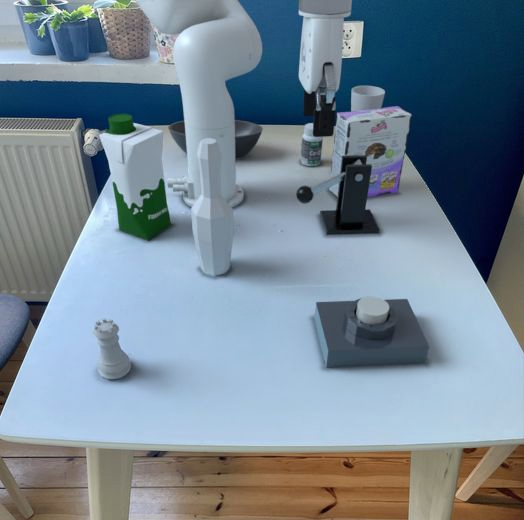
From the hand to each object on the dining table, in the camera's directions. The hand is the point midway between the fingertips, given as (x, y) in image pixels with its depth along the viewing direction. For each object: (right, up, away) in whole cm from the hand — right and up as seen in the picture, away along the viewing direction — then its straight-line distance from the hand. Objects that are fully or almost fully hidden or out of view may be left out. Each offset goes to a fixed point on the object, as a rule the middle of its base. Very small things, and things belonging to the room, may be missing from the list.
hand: (317, 125), depth 88 cm
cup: (+16, +16, +49) cm, 55 cm away
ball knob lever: (+4, -7, +11) cm, 14 cm away
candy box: (+13, -3, +27) cm, 30 cm away
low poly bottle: (-17, -23, +5) cm, 29 cm away
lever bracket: (+8, -13, +17) cm, 22 cm away
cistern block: (+6, -35, -9) cm, 37 cm away
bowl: (-20, +10, +42) cm, 47 cm away
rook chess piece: (-29, -40, -14) cm, 51 cm away
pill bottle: (+2, +7, +39) cm, 39 cm away
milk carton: (-31, -14, +15) cm, 37 cm away
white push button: (+6, -32, -12) cm, 35 cm away
